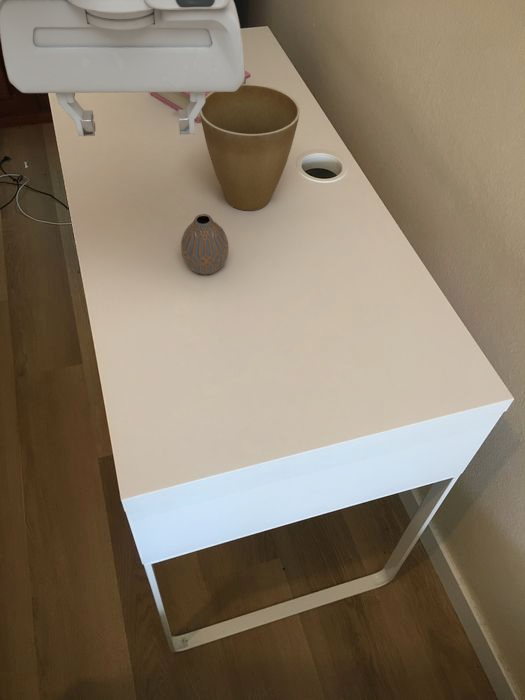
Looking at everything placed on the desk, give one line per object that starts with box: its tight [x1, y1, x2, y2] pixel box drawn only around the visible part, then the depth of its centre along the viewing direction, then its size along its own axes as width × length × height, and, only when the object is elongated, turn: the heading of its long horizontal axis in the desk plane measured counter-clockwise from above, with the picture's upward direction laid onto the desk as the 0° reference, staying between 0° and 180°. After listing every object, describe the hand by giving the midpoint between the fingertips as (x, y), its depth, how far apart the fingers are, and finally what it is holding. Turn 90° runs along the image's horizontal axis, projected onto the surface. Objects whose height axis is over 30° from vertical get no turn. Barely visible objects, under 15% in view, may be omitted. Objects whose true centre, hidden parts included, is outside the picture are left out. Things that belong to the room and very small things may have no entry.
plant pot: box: [200, 83, 301, 212], centre depth 91 cm, size 15×15×16 cm
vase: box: [180, 213, 230, 275], centre depth 83 cm, size 7×7×9 cm
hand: (137, 132), depth 55 cm, fingers open, 8 cm apart
